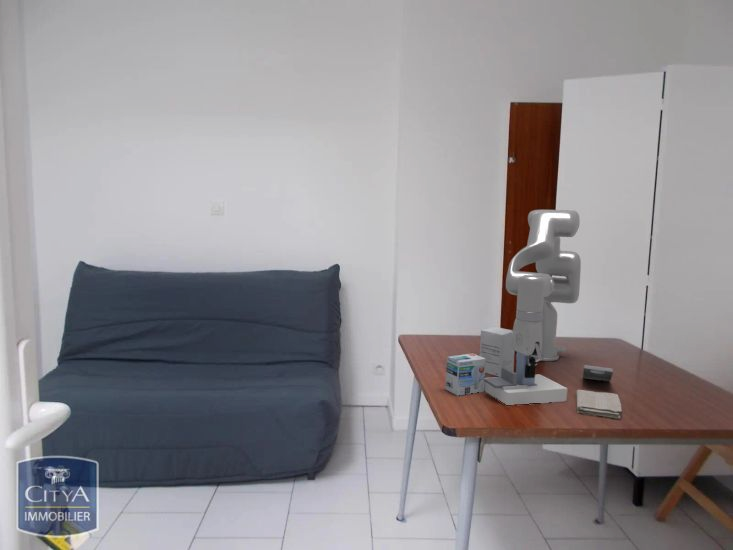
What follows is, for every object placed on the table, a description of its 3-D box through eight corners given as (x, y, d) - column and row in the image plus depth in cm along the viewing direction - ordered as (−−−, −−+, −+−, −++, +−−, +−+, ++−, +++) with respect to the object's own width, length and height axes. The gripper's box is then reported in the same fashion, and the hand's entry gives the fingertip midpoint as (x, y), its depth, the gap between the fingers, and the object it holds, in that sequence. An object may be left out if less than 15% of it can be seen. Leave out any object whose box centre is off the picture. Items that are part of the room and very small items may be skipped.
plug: (526, 381, 163) (529, 344, 162) (534, 385, 159) (536, 348, 158) (515, 381, 162) (517, 345, 161) (522, 386, 158) (524, 348, 157)
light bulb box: (457, 396, 159) (459, 361, 158) (444, 389, 165) (445, 356, 164) (485, 391, 164) (487, 358, 163) (471, 385, 170) (473, 352, 169)
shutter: (504, 379, 163) (504, 367, 162) (516, 386, 156) (517, 373, 156) (483, 380, 161) (484, 368, 160) (495, 388, 154) (496, 375, 154)
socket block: (539, 386, 171) (540, 371, 170) (566, 401, 157) (567, 385, 157) (483, 390, 165) (484, 375, 165) (507, 406, 152) (508, 390, 151)
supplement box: (491, 366, 192) (494, 326, 190) (514, 372, 185) (516, 330, 184) (477, 371, 185) (480, 329, 184) (500, 377, 179) (502, 334, 177)
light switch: (610, 376, 178) (613, 365, 166) (609, 393, 176) (612, 384, 164) (583, 372, 181) (584, 362, 169) (581, 389, 179) (582, 380, 167)
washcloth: (576, 415, 148) (577, 405, 147) (574, 395, 164) (575, 385, 164) (623, 422, 144) (624, 411, 143) (616, 401, 160) (617, 391, 160)
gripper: (503, 311, 165) (500, 368, 167) (534, 322, 149) (530, 384, 151) (524, 310, 167) (520, 366, 169) (557, 321, 151) (552, 383, 154)
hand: (525, 374), depth 160 cm, fingers closed on plug, 4 cm apart
